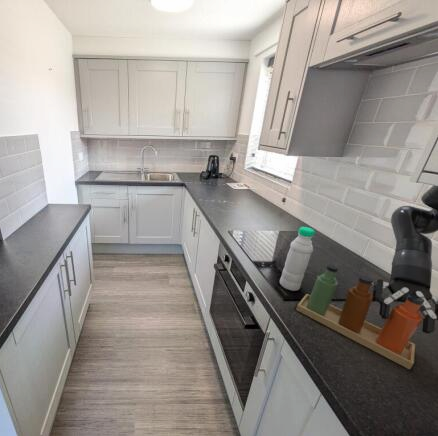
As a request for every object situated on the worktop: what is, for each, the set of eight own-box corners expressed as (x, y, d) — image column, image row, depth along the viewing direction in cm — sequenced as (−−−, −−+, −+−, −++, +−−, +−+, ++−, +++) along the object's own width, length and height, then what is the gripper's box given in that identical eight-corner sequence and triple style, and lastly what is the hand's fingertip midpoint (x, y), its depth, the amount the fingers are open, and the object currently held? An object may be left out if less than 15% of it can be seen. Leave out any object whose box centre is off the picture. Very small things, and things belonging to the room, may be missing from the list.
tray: (411, 349, 66) (415, 344, 65) (409, 369, 60) (413, 363, 59) (304, 298, 85) (306, 293, 84) (295, 309, 79) (297, 304, 78)
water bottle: (280, 278, 96) (296, 223, 87) (300, 284, 92) (319, 228, 83) (277, 286, 91) (295, 229, 81) (298, 294, 87) (319, 234, 78)
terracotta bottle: (392, 340, 68) (420, 292, 62) (406, 357, 63) (438, 307, 57) (371, 336, 69) (396, 289, 63) (383, 352, 64) (412, 302, 58)
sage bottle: (321, 306, 81) (338, 263, 74) (328, 317, 76) (347, 273, 69) (304, 303, 82) (319, 260, 75) (309, 314, 77) (327, 269, 70)
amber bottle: (354, 321, 74) (371, 274, 69) (364, 334, 69) (383, 285, 64) (334, 318, 75) (349, 272, 70) (343, 331, 71) (360, 282, 65)
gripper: (383, 256, 67) (375, 311, 62) (458, 274, 59) (455, 338, 55) (372, 264, 73) (364, 315, 68) (439, 281, 65) (435, 339, 61)
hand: (405, 325), depth 61 cm, fingers open, 7 cm apart
